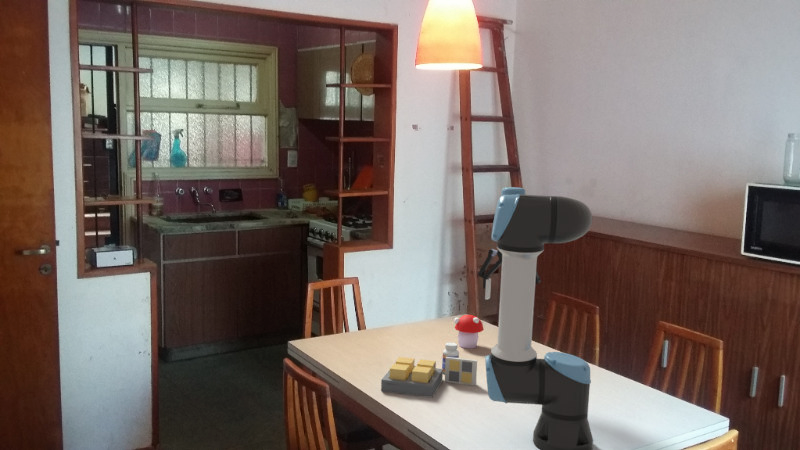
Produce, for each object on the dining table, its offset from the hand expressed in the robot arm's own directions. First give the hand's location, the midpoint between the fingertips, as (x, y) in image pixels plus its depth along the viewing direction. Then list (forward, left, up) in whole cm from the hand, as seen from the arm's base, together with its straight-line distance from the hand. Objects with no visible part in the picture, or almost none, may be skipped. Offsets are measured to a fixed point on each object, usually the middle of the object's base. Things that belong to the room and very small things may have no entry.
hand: (507, 301), depth 230 cm
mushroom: (+33, +17, -26) cm, 46 cm away
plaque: (-8, +13, -26) cm, 30 cm away
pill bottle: (+1, +18, -26) cm, 32 cm away
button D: (-11, +30, -23) cm, 40 cm away
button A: (-18, +23, -23) cm, 38 cm away
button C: (-11, +23, -23) cm, 35 cm away
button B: (-18, +30, -23) cm, 42 cm away
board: (-15, +27, -26) cm, 40 cm away
